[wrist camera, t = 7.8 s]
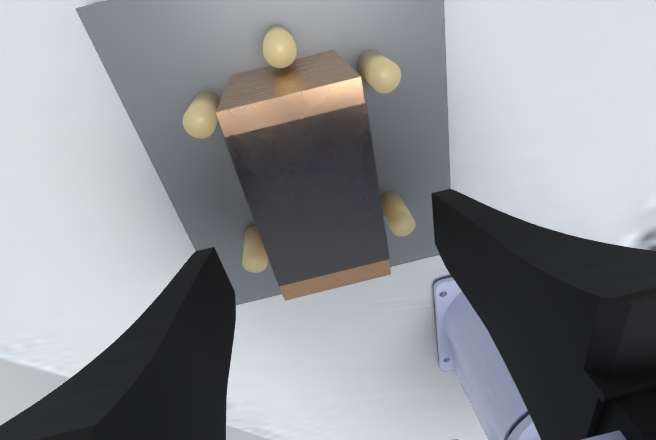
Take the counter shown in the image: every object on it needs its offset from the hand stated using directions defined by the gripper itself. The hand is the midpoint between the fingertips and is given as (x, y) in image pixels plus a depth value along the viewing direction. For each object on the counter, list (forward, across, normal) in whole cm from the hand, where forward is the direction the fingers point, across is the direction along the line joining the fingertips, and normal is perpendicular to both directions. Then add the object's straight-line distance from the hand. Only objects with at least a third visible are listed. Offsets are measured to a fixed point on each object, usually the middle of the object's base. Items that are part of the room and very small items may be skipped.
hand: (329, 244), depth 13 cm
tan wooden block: (+7, 0, -1) cm, 7 cm away
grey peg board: (+8, 0, 0) cm, 8 cm away
